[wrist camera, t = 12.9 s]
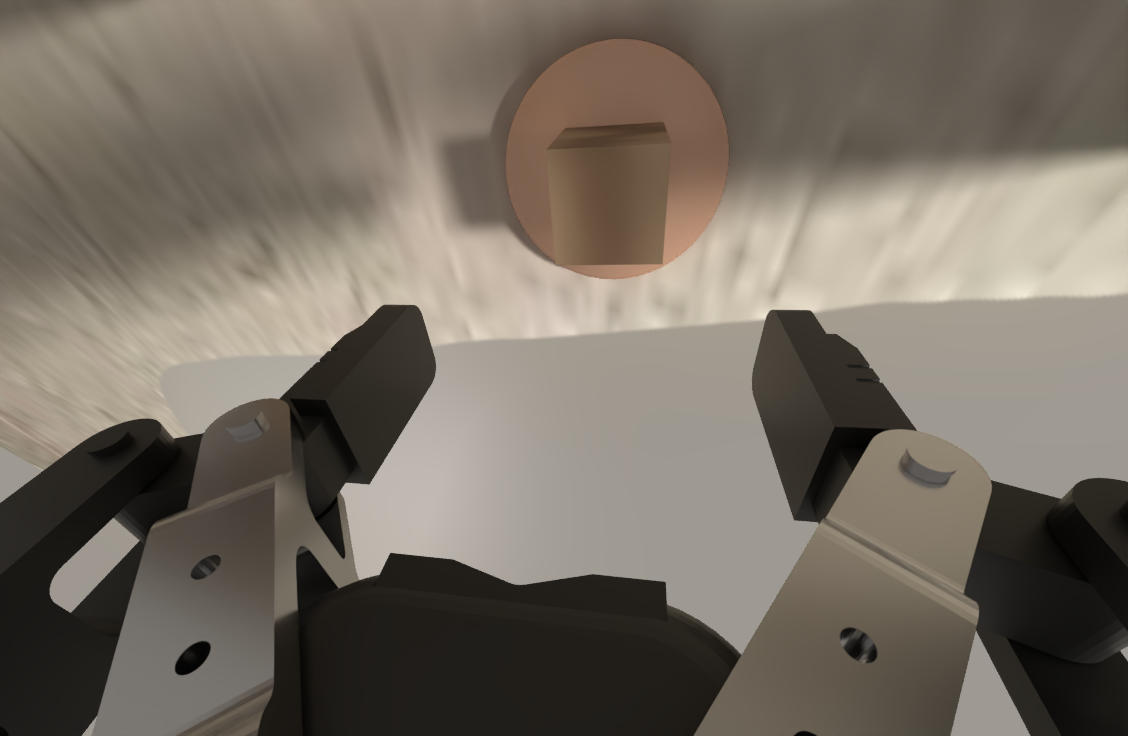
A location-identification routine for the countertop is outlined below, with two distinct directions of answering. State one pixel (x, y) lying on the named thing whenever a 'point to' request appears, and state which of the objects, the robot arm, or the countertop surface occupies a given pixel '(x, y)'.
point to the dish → (617, 97)
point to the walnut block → (609, 194)
